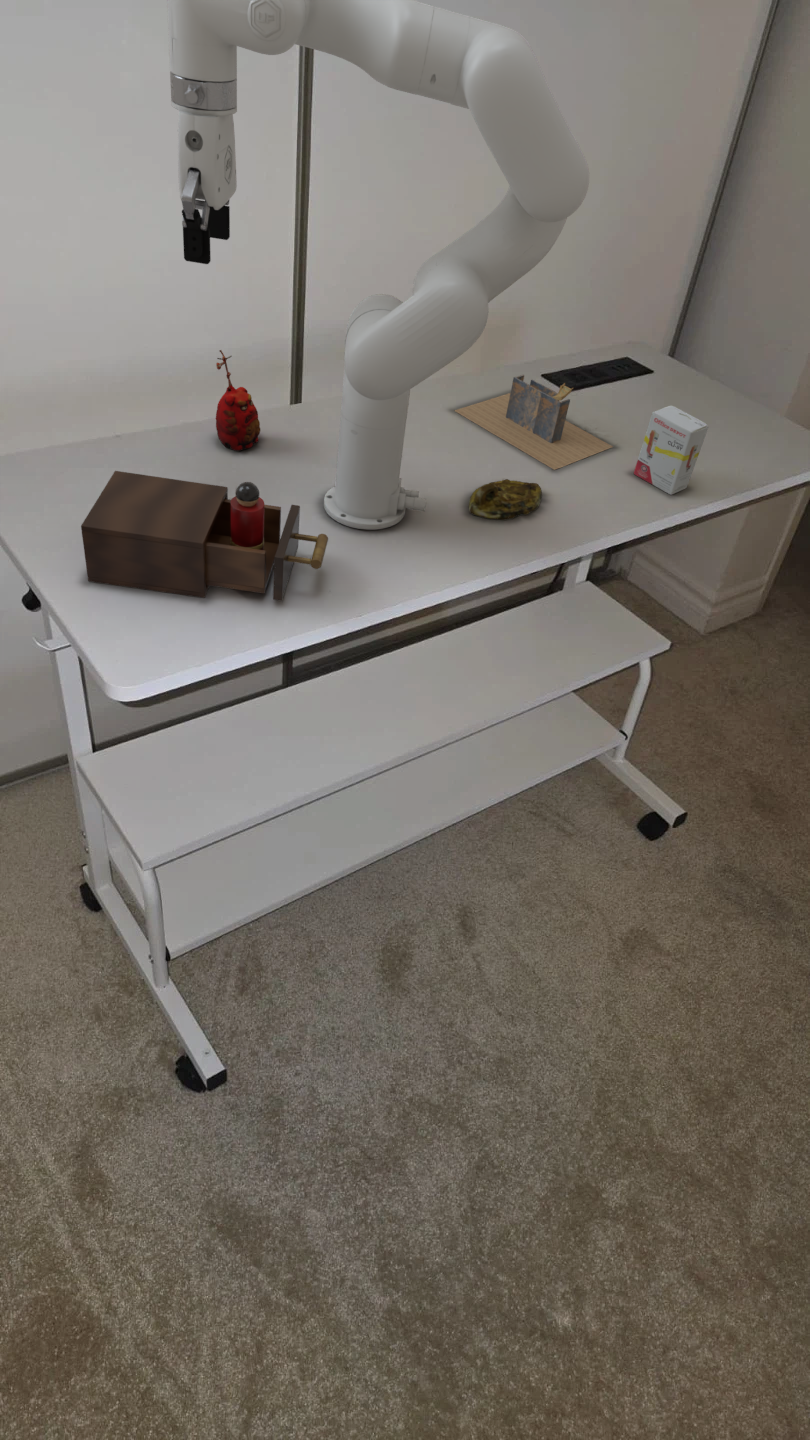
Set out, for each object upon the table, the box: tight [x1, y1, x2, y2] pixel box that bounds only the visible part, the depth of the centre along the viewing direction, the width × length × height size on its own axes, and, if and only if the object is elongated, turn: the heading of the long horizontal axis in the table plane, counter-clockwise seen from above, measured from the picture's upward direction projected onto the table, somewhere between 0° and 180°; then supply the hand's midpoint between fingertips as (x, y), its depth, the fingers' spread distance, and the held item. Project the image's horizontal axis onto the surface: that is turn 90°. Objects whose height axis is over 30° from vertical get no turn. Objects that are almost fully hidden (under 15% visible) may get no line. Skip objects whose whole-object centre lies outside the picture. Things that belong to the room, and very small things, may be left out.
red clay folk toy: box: [215, 349, 261, 452], centre depth 154 cm, size 8×7×15 cm
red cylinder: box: [230, 481, 266, 550], centre depth 128 cm, size 5×5×12 cm
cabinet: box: [80, 470, 229, 599], centre depth 130 cm, size 16×14×9 cm
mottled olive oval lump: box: [468, 478, 543, 521], centre depth 154 cm, size 9×5×15 cm
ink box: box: [633, 405, 709, 496], centre depth 163 cm, size 9×5×12 cm, turn 41°
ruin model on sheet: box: [453, 374, 614, 471], centre depth 172 cm, size 25×16×10 cm, turn 42°
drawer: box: [205, 498, 329, 602], centre depth 130 cm, size 19×13×7 cm
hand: (207, 249), depth 123 cm, fingers open, 9 cm apart
